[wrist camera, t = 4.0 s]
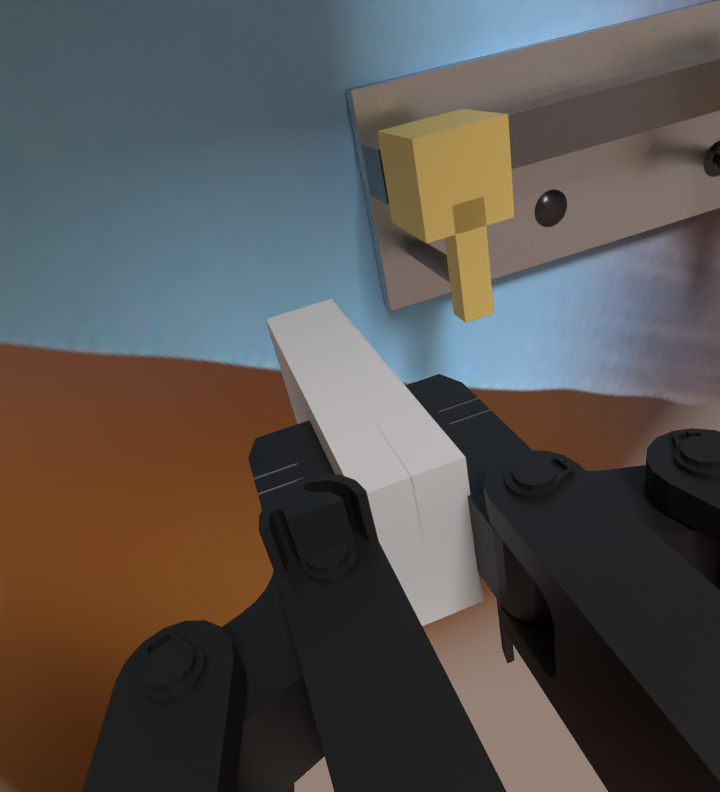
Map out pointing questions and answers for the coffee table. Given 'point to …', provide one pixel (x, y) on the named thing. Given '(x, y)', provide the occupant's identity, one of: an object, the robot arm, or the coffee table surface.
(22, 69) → the coffee table surface
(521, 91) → the hole plate
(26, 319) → the coffee table surface
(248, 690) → the robot arm
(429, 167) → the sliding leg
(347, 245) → the coffee table surface
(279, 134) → the coffee table surface
